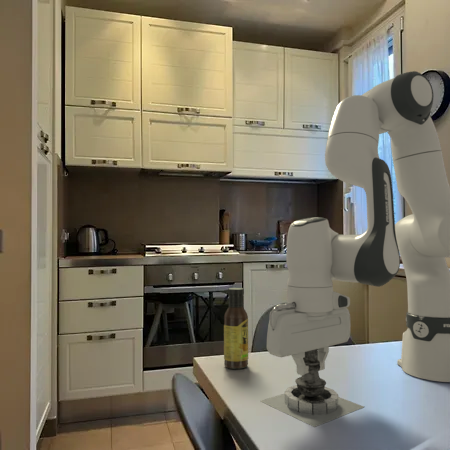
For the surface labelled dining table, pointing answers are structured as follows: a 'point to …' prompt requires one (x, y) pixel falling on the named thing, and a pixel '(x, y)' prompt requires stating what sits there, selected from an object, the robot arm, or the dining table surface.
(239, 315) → the sauce bottle
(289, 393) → the ring
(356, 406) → the board
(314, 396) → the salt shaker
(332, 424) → the dining table surface
